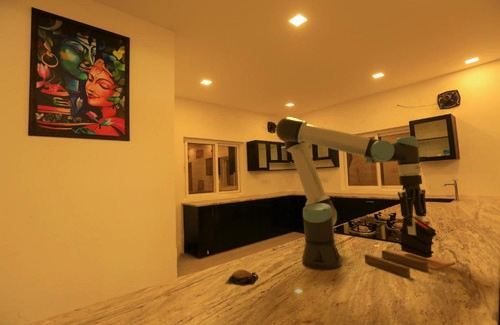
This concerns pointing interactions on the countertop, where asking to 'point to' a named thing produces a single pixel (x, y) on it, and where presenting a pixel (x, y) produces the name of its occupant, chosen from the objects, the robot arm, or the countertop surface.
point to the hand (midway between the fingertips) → (416, 233)
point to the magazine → (417, 239)
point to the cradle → (394, 266)
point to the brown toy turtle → (242, 278)
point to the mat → (430, 260)
